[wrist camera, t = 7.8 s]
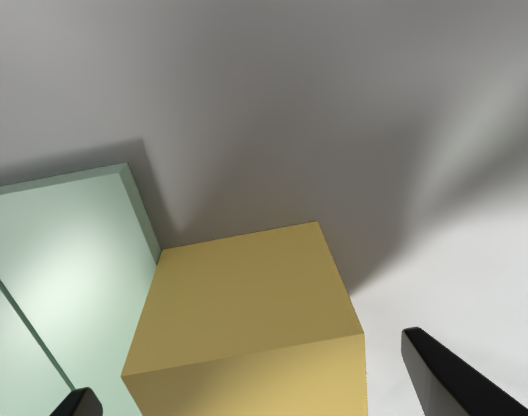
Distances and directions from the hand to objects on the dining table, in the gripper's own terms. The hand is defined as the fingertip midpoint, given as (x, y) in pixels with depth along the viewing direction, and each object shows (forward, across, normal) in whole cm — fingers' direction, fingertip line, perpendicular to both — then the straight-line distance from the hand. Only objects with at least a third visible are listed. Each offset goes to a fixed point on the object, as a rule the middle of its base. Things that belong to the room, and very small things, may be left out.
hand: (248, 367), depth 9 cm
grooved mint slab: (+3, +7, 0) cm, 8 cm away
